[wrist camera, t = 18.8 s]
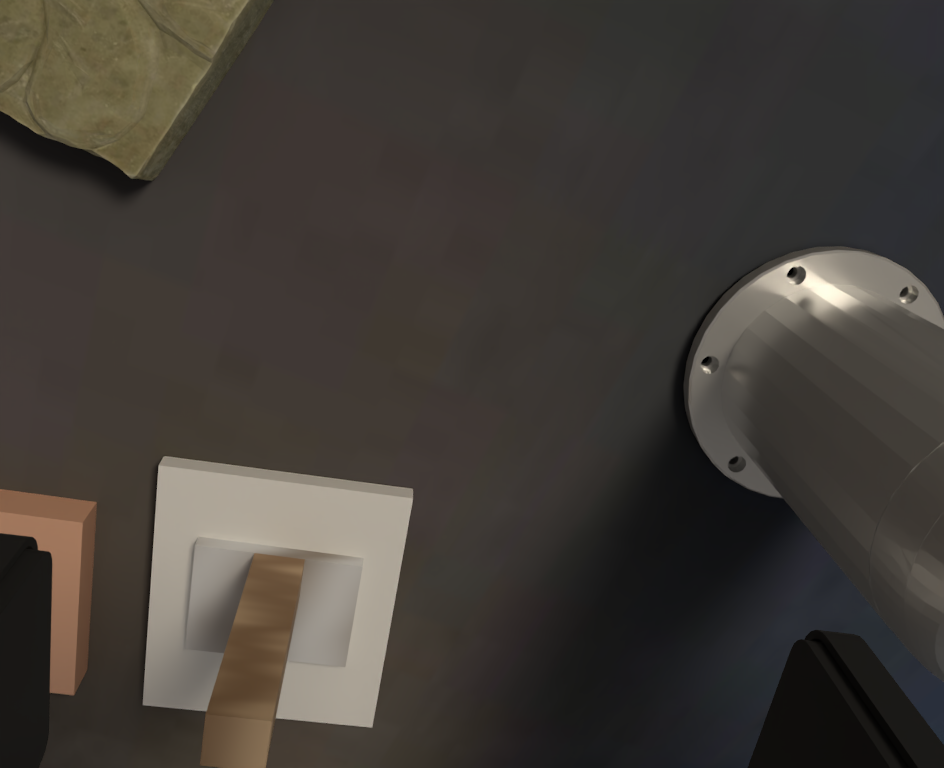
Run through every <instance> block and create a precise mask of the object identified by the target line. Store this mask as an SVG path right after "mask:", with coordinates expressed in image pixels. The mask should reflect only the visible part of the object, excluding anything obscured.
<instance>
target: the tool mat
mask: <svg viewBox="0 0 944 768" xmlns="http://www.w3.org/2000/svg"><path fill="white" fill-rule="evenodd" d="M412 501H413V489H411V488H403V487H395V486H388V485H380V484H373V483H365V482H357V481H350V480H342V479H335V478H327V477H319V476H312V475H304V474H297V473H289V472H282V471H274V470H266V469H259V468H251V467H244V466H236V465H228V464H221V463H213V462H206V461H198V460H190V459H183V458H175V457H168V456H164V457H163V459H162V460H161V462H160V464H159V466H158V482H157V497H156V512H155V527H154V542H153V557H152V572H151V587H150V602H149V617H148V632H147V647H146V662H145V677H144V692H143V705H146V706H157V707H167V708H177V709H187V710H198V711H207V708H208V705H209V701H210V698H211V695H212V691H213V688H214V685H215V682H216V678H217V675H218V672H219V668H220V665H221V662H222V659H223V655H224V653H217V652H208V651H199V650H190V649H185V644H186V634H187V623H188V613H189V603H190V592H191V582H192V572H193V561H194V551H195V544H196V542H197V540H198V537H206V538H213V539H221V540H229V541H237V542H244V543H252V544H260V545H267V546H275V547H283V548H290V549H298V550H306V551H314V552H321V553H329V554H337V555H344V556H352V557H360V558H363V568H362V574H361V580H360V585H359V591H358V597H357V603H356V609H355V614H354V620H353V626H352V632H351V638H350V643H349V649H348V655H347V661H346V666H345V667H340V666H331V665H322V664H313V663H305V662H296V661H287V663H286V668H285V673H284V678H283V683H282V688H281V693H280V698H279V703H278V708H277V713H276V718H280V719H290V720H300V721H310V722H321V723H331V724H341V725H351V726H361V727H372V726H373V720H374V714H375V709H376V703H377V698H378V692H379V686H380V681H381V675H382V670H383V664H384V658H385V653H386V647H387V642H388V636H389V630H390V625H391V619H392V614H393V608H394V602H395V597H396V591H397V585H398V580H399V574H400V569H401V563H402V557H403V552H404V546H405V541H406V535H407V529H408V524H409V518H410V513H411V507H412Z"/></svg>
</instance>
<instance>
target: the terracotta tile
mask: <svg viewBox="0 0 944 768" xmlns="http://www.w3.org/2000/svg"><path fill="white" fill-rule="evenodd" d="M96 506H97V502H91V501H84V500H76V499H69V498H62V497H54V496H47V495H40V494H32V493H25V492H18V491H10V490H3V489H0V533H3V534H12V535H20V536H29V537H33V538H35V539H36V542H37V545H38V550H41V551H49V552H50V553H51V556H52V607H51V653H50V693H57V694H67V695H74V694H75V692H76V691H77V689H78V687H79V685H80V683H81V681H82V679H83V677H84V675H85V673H86V671H87V666H88V648H89V630H90V613H91V595H92V577H93V559H94V542H95V524H96Z"/></svg>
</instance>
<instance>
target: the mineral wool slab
mask: <svg viewBox="0 0 944 768" xmlns="http://www.w3.org/2000/svg"><path fill="white" fill-rule="evenodd" d="M273 1H274V0H0V111H1V112H3V113H5V114H7V115H9V116H11V117H12V118H14V119H15V120H17V121H18V122H20V123H21V124H23V125H25V126H27V127H28V128H30V129H31V130H32V131H34V132H35V133H37V134H39V135H41V136H43V137H46V138H49V139H53V140H56V141H59V142H62V143H64V144H66V145H69V146H71V147H75V148H80V149H83V150H85V151H87V152H89V153H91V154H93V155H95V156H99V157H101V158H103V159H106V160H108V161H109V162H111V163H112V164H114V165H115V166H116V167H118V168H119V169H121V170H122V171H123V172H124V173H126V174H127V175H128V176H129V177H130V178H131V179H143V180H151V181H152V180H154V179H155V178H156V177H157V176H158V175H159V173H160V172H161V171H162V169H163V168H164V166H165V165H166V163H167V162H168V160H169V159H170V157H171V156H172V154H173V153H174V151H175V150H176V148H177V147H178V145H179V144H180V142H181V141H182V140H183V138H184V137H185V135H186V134H187V132H188V131H189V129H190V128H191V126H192V125H193V123H194V122H195V120H196V119H197V117H198V116H199V114H200V113H201V111H202V110H203V108H204V107H205V105H206V104H207V102H208V101H209V99H210V98H211V96H212V95H213V93H214V92H215V90H216V89H217V87H218V86H219V84H220V83H221V81H222V80H223V78H224V77H225V75H226V74H227V72H228V71H229V69H230V68H231V66H232V65H233V63H234V62H235V60H236V59H237V57H238V56H239V54H240V53H241V51H242V50H243V48H244V47H245V45H246V44H247V42H248V41H249V39H250V37H251V36H252V34H253V33H254V31H255V30H256V28H257V26H258V25H259V23H260V22H261V20H262V19H263V17H264V15H265V14H266V12H267V10H268V9H269V7H270V6H271V4H272V2H273Z"/></svg>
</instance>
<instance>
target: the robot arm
mask: <svg viewBox="0 0 944 768" xmlns="http://www.w3.org/2000/svg"><path fill="white" fill-rule="evenodd" d="M791 268H793V273H792V274H791V275H789V276H787V273H788V272H789V270H790V269H791ZM903 288H904V289H903ZM902 289H903V291H902ZM901 291H902V293H900V292H901ZM707 356H709V359H708V361H707V362H705V363H701V362H702V360H703V359H704V358H706V357H707ZM683 389H684V403H685V410H686V414H687V417H688V421H689V424H690V428H691V430H692V432H693V434H694V436H695V438H696V439H697V441H698V443H699V445H700V447H701V448H702V450H703V451H704V452H705V454H706V455H707V456H708V457H709V459H710V460H711V462H712V463H713V464H714V465H715V466H716V467H717V468H718V469H719V470H720V471H721V472H722V473H723V474H724V475H725V476H727V477H728V478H729V479H731V480H733V481H734V482H736V483H738V484H740V485H741V486H743V487H745V488H746V489H748V490H751V491H754V492H757V493H760V494H763V495H766V496H770V497H777V498H783V499H784V500H785V501H786V502H787V504H788V505H789V506H790V507H791V508H792V510H793V511H794V512H795V513H796V515H797V516H798V517H799V518H800V519H801V521H802V522H803V523H804V524H805V526H806V527H807V528H808V529H809V530H810V532H811V533H812V534H813V535H814V537H815V538H816V539H817V540H818V541H819V543H820V544H821V545H822V546H823V548H824V549H825V550H826V551H827V552H828V554H829V555H830V556H831V557H832V559H833V560H834V561H835V562H836V563H837V565H838V566H839V567H840V568H841V570H842V571H843V572H844V573H845V574H846V576H847V577H848V578H849V579H850V581H851V582H852V583H853V584H854V585H855V587H856V588H857V589H858V590H859V592H860V593H861V594H862V595H863V596H864V598H865V599H866V600H867V601H868V603H869V604H870V605H871V606H872V607H873V609H874V610H875V611H876V612H877V614H878V615H879V616H880V617H881V618H882V620H883V621H884V622H885V623H886V625H887V626H888V627H889V628H890V629H891V630H892V631H893V632H894V633H895V635H896V636H897V637H898V638H899V640H900V641H901V642H902V643H903V644H904V646H905V647H906V648H907V649H908V650H909V651H910V652H911V653H912V655H913V656H914V657H915V658H916V659H917V660H918V661H919V662H920V663H921V664H922V665H923V666H924V667H925V668H927V669H928V670H929V671H930V672H931V673H933V674H934V675H935V676H937V677H938V678H939V679H940V680H942V681H943V682H944V317H943V314H942V312H941V309H940V307H939V304H938V303H937V301H936V300H935V298H934V297H933V296H932V294H931V293H930V291H929V290H928V288H927V287H926V286H925V285H924V284H923V283H922V282H921V281H920V280H919V279H918V278H917V277H915V276H914V275H913V274H912V273H911V272H910V271H909V270H907V269H905V268H904V267H902V266H900V265H898V264H896V263H894V262H893V261H891V260H889V259H887V258H884V257H882V256H879V255H877V254H874V253H872V252H869V251H866V250H860V249H855V248H849V247H843V246H837V247H815V248H810V249H805V250H801V251H796V252H791V253H789V254H786V255H784V256H782V257H779V258H777V259H774V260H772V261H769V262H767V263H765V264H763V265H762V266H760V267H759V268H757V269H755V270H754V271H752V272H751V273H749V274H747V275H746V276H744V277H743V278H742V279H741V280H739V281H738V282H737V283H736V284H735V285H734V286H733V287H732V288H730V289H729V290H728V291H727V292H726V293H725V294H724V295H723V296H722V297H721V298H720V300H719V301H718V302H717V303H716V305H715V306H714V307H713V308H712V310H711V311H710V312H709V313H708V315H707V316H706V318H705V320H704V321H703V323H702V325H701V327H700V329H699V330H698V332H697V334H696V336H695V338H694V340H693V343H692V346H691V349H690V352H689V355H688V358H687V361H686V368H685V376H684V384H683ZM733 457H735V458H734V459H732V458H733ZM731 459H732V460H731ZM51 607H52V556H51V553H50V552H49V551H41V550H38V545H37V542H36V539H35V538H33V537H29V536H20V535H12V534H3V533H0V768H38V767H39V765H40V763H41V761H42V758H43V755H44V752H45V749H46V745H47V740H48V733H49V699H50V653H51ZM748 768H944V745H943V744H942V742H941V741H940V740H939V738H938V737H937V736H936V734H935V733H934V732H933V730H932V729H931V728H930V726H929V725H928V724H927V723H926V721H925V720H924V719H923V717H922V716H921V715H920V713H919V712H918V711H917V709H916V708H915V707H914V705H913V704H912V703H911V701H910V700H909V699H908V697H907V696H906V695H905V694H904V692H903V691H902V690H901V688H900V687H899V686H898V684H897V683H896V682H895V680H894V679H893V678H892V676H891V675H890V674H889V672H888V671H887V670H886V669H885V667H884V666H883V665H882V663H881V662H880V661H879V659H878V658H877V657H876V655H875V654H874V653H873V651H872V650H871V649H870V647H869V646H868V645H867V643H866V642H865V641H864V640H863V639H862V638H861V637H860V636H857V635H854V634H846V633H838V632H829V631H821V630H814V631H811V632H810V633H809V634H808V635H807V636H806V638H805V640H798V641H796V642H795V643H794V645H793V647H792V649H791V651H790V654H789V657H788V660H787V662H786V665H785V668H784V670H783V673H782V676H781V679H780V681H779V684H778V687H777V690H776V692H775V695H774V698H773V700H772V703H771V706H770V709H769V711H768V714H767V717H766V719H765V722H764V725H763V728H762V730H761V733H760V736H759V739H758V741H757V744H756V747H755V749H754V752H753V755H752V758H751V760H750V763H749V766H748Z"/></svg>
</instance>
